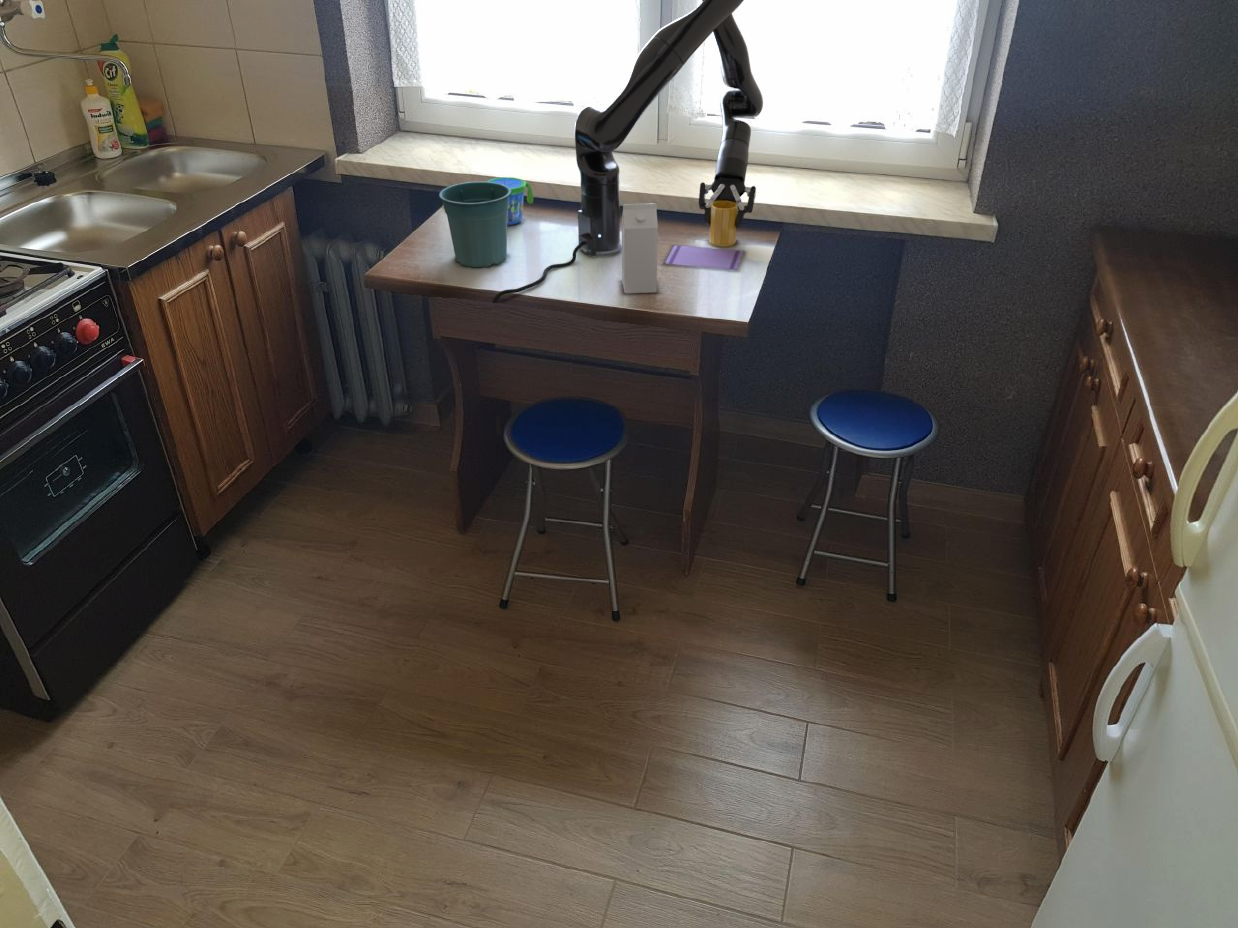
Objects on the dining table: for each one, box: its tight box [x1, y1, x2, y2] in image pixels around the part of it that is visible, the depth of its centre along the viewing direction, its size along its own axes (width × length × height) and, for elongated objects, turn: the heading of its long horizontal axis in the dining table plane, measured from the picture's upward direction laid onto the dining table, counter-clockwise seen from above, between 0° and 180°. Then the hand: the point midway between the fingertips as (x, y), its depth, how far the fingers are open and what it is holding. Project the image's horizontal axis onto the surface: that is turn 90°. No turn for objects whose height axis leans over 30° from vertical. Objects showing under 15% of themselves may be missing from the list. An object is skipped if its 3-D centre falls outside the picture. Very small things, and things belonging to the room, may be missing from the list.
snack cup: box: [485, 176, 534, 227], centre depth 246 cm, size 16×10×10 cm
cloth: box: [664, 244, 744, 271], centre depth 228 cm, size 17×12×1 cm
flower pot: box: [438, 181, 511, 268], centre depth 224 cm, size 16×16×16 cm
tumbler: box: [708, 200, 739, 247], centre depth 234 cm, size 6×6×10 cm
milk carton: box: [621, 202, 659, 294], centre depth 208 cm, size 7×7×19 cm
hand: (722, 225), depth 233 cm, fingers open, 7 cm apart
